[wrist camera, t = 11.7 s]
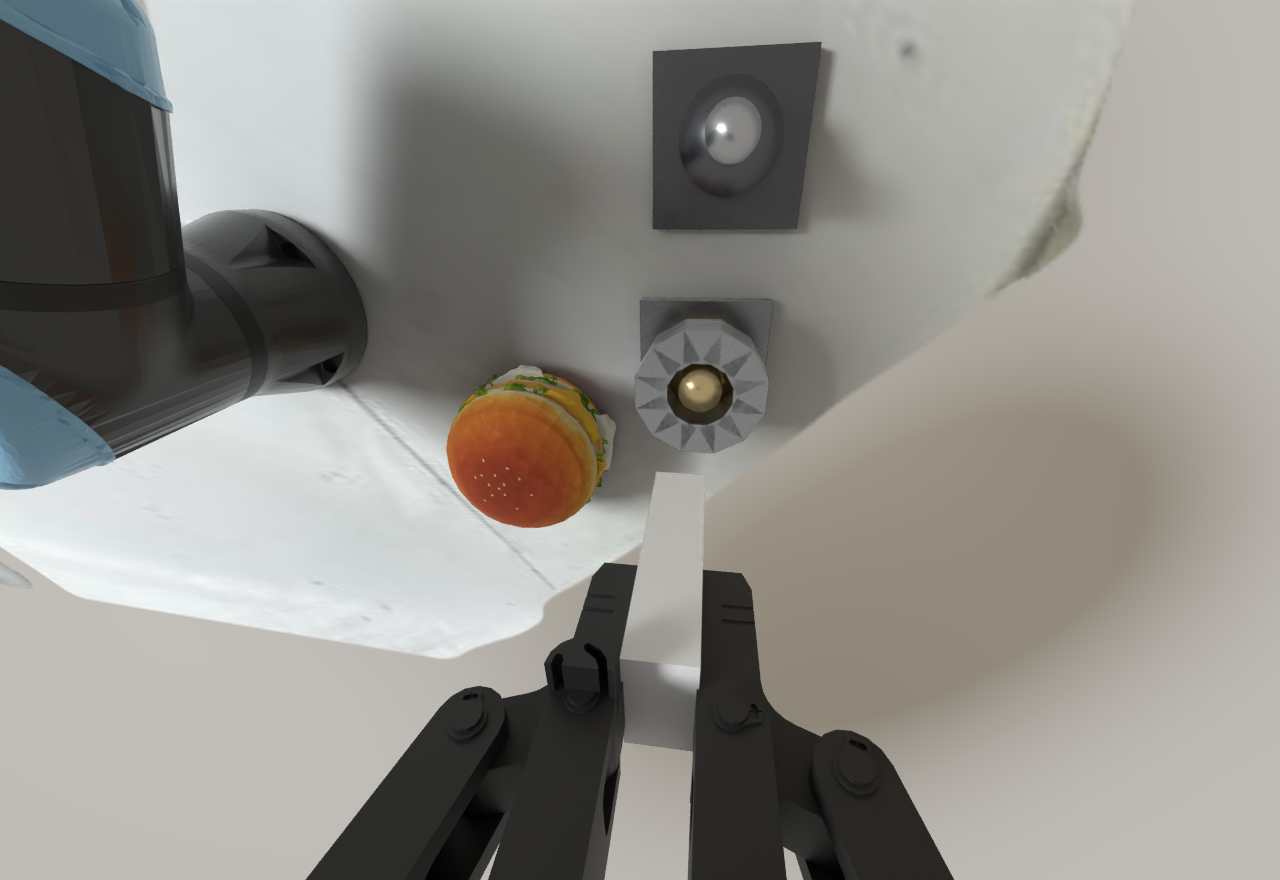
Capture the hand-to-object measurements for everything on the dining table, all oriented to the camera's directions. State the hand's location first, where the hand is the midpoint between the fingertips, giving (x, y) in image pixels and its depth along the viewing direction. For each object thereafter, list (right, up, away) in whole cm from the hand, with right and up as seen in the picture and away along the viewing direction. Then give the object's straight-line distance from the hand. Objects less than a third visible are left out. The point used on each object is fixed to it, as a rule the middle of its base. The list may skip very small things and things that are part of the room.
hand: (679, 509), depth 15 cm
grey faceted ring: (+3, +7, +20) cm, 21 cm away
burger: (-10, +4, +29) cm, 31 cm away
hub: (+4, +9, +24) cm, 25 cm away
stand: (+5, +22, +16) cm, 28 cm away
